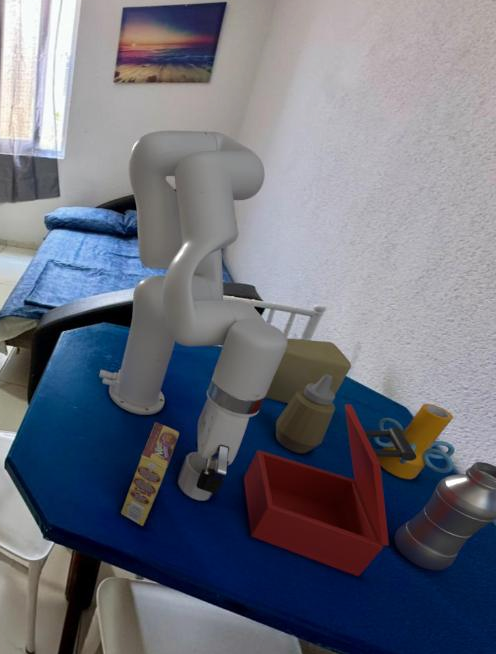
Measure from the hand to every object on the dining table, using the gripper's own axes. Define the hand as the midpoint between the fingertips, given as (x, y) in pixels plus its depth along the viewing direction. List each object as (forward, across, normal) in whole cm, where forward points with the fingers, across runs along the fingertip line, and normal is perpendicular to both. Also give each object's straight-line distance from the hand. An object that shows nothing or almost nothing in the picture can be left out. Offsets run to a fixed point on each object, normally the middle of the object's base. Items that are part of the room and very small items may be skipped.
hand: (205, 468), depth 73 cm
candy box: (+6, +7, -9) cm, 13 cm away
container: (+6, -1, 0) cm, 6 cm away
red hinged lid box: (+6, -1, +16) cm, 17 cm away
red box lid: (-9, 0, +19) cm, 21 cm away
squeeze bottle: (+6, -22, +19) cm, 29 cm away
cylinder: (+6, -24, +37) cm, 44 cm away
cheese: (+5, -38, +16) cm, 41 cm away
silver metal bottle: (+6, -3, +33) cm, 33 cm away
